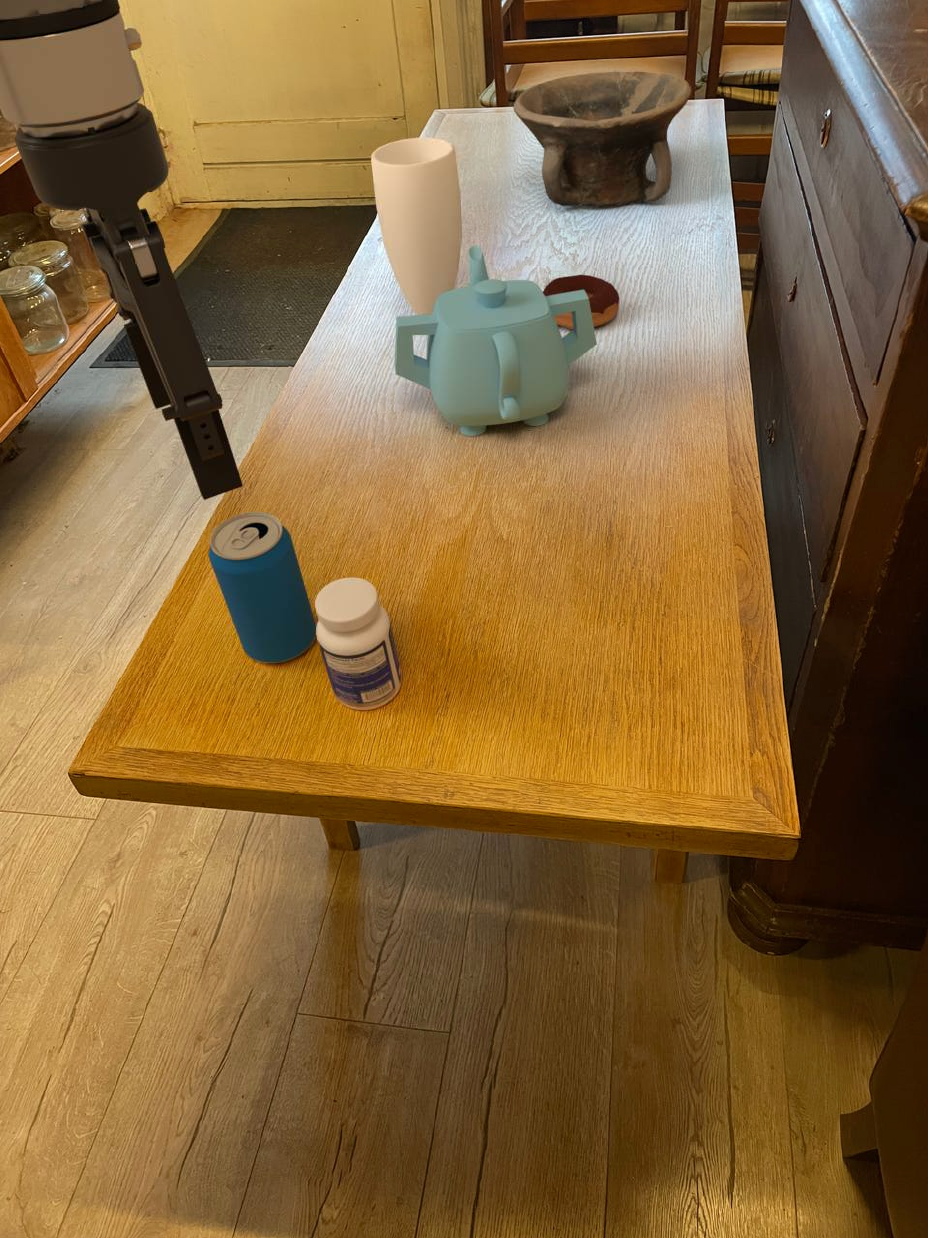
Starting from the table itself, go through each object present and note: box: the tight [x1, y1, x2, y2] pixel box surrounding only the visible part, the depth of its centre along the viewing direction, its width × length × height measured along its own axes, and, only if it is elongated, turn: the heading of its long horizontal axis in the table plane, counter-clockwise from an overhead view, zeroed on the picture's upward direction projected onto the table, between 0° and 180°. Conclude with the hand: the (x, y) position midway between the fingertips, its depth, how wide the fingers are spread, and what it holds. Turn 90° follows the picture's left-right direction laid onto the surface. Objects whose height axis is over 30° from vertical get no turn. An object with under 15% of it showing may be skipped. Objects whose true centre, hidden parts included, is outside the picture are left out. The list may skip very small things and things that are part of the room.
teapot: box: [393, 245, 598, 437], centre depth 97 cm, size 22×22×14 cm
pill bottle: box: [314, 576, 403, 711], centre depth 69 cm, size 6×6×10 cm
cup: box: [370, 137, 463, 315], centre depth 108 cm, size 10×10×22 cm
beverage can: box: [208, 511, 317, 664], centre depth 73 cm, size 6×6×12 cm
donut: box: [542, 274, 620, 330], centre depth 113 cm, size 10×10×4 cm
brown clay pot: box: [512, 70, 692, 207], centre depth 139 cm, size 27×26×15 cm
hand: (195, 443), depth 64 cm, fingers open, 13 cm apart
